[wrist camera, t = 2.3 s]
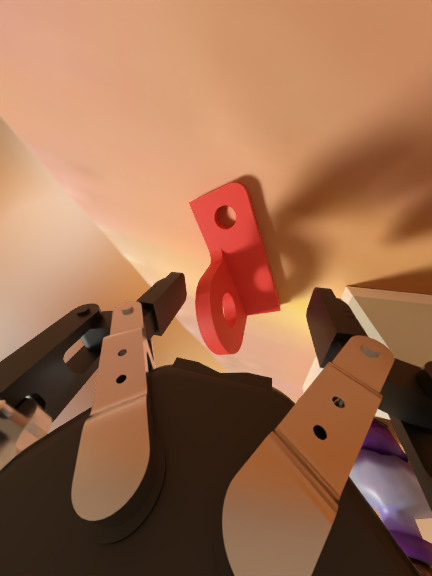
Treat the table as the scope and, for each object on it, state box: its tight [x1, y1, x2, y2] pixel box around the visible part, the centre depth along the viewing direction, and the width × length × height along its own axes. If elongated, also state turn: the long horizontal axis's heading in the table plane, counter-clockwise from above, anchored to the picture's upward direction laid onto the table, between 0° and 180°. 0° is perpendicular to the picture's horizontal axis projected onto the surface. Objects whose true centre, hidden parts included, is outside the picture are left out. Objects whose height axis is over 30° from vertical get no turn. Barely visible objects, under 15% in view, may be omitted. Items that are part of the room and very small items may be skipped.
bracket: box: [189, 182, 280, 355], centre depth 13 cm, size 12×4×8 cm, turn 23°
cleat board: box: [302, 286, 432, 420], centre depth 14 cm, size 14×16×10 cm
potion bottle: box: [349, 419, 432, 576], centre depth 20 cm, size 9×9×12 cm
